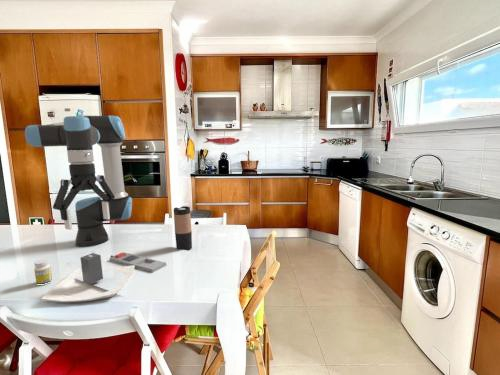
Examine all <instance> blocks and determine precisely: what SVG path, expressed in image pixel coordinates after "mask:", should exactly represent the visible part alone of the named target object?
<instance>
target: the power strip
mask: <svg viewBox="0 0 500 375" xmlns="http://www.w3.org/2000/svg"><path fill="white" fill-rule="evenodd" d="M109 261H110V262H113V263H117V264H120V265H124V266H132V265H134V266H135V268H134V269H139V270H142V271H147V272H150V273H155V272H157V271H159V270H160V269H163V268H165V267H166V266H167V262H164V261H161V260H157V259H153V258H148V257H145V256H140V255H136V254H131V253H127V252H120V253H118V254H115V255H110V257H109Z"/></svg>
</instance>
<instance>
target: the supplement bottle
mask: <svg viewBox="0 0 500 375" xmlns="http://www.w3.org/2000/svg"><path fill="white" fill-rule="evenodd" d="M51 270H52V269H51V265H50V264H49V260H48V259H45V258H44V259H39V260H36V261H35V262H34V276H35V283H36V285H37V284H45V283H48V282H50V283H52V282H53V276H52V271H51ZM51 281H52V282H51Z"/></svg>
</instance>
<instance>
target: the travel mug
mask: <svg viewBox="0 0 500 375" xmlns="http://www.w3.org/2000/svg"><path fill="white" fill-rule="evenodd" d="M173 221H174V222H173V223H174V237H175V247H176V249H177V250H181V251H191V250H192V248H193V240H192V239H193V238H192V218H191V207H190V206H183V205H182V206H181V207H174V208H173Z"/></svg>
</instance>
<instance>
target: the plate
mask: <svg viewBox="0 0 500 375" xmlns="http://www.w3.org/2000/svg"><path fill="white" fill-rule="evenodd" d="M135 269H136V268H135V266H134V265H132V266H127V265H124V266H113V267H112V266H111V267H110V266H107V267H102V272H103V271H104V272H105V271H118V272H121V273H123V274H124V275H125V277H124V279H123V281H122V282H121V283H120V284H119V285H118V286H117V287H115V288H113V289H111V290H108V289H105V288H103V287H100V286H97V285H94V284H89V283H86V282H83V280H80V279H77V278H78V277H81V276H83V274H82V267H81V268H76V269H75V270H74V271H72V272H71V273H70V274H68V275H67V276H66V277H65V278H64V279H63V280H61V281H60V282H59V283H58V284H56V285H55V286H53V288H52V289H50V290H49V291H48V292H47V293H45V294H44V295H43V296H42V297H41V301H45V302H54V303H81V302H91V301H97V300H102V299H107V298H112V297H113V296H114V295H116V294H117V293H118V292H119V291H121V290H122V289H123V288H124V287H125V286H126V285H127V284H128V283H129V281H130V279H131V277H132V276H133V274H134V271H135Z"/></svg>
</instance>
